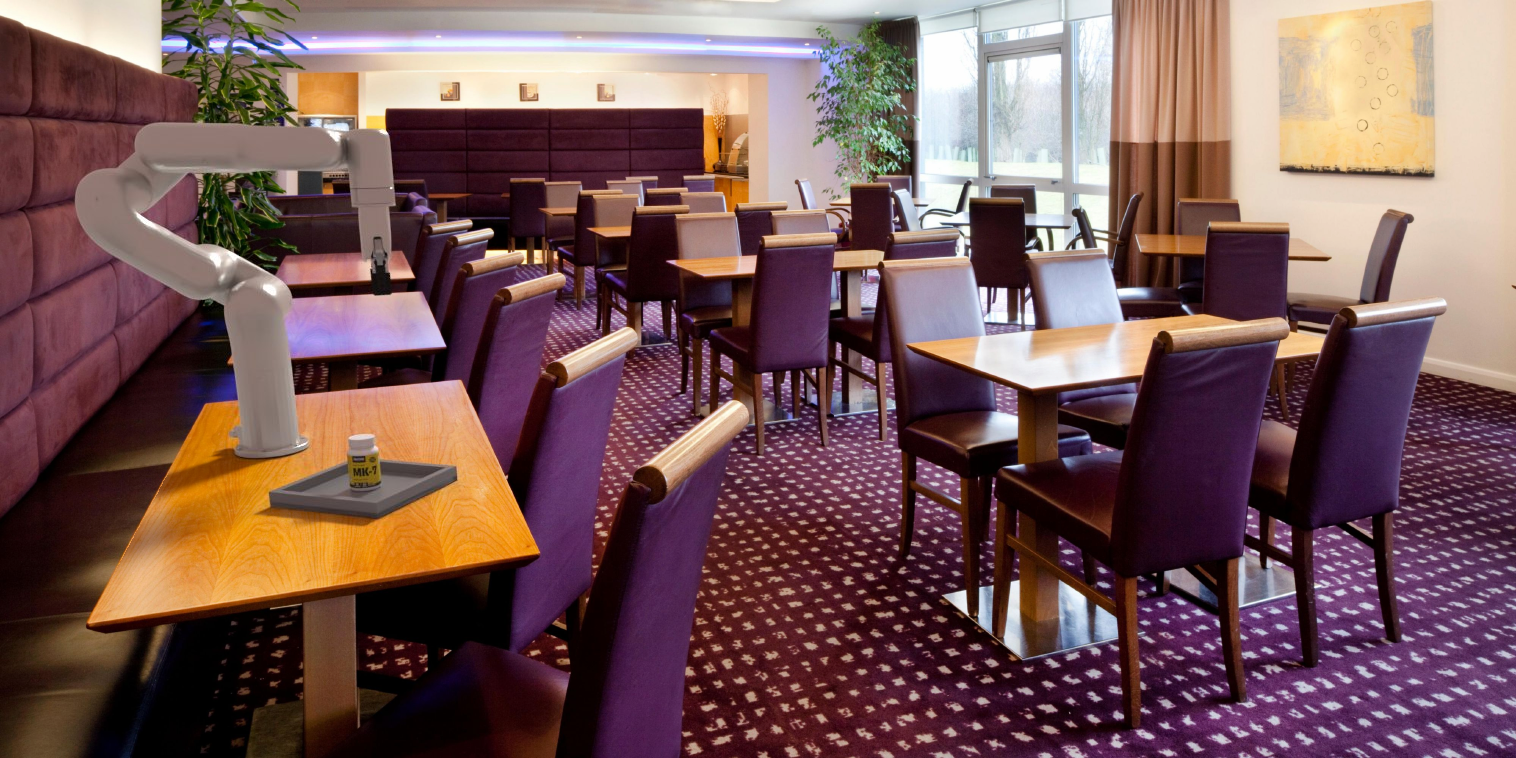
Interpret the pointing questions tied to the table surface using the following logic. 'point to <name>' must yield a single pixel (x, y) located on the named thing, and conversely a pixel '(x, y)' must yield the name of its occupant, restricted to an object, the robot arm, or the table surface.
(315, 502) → the serving tray
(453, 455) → the table surface
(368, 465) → the supplement bottle
